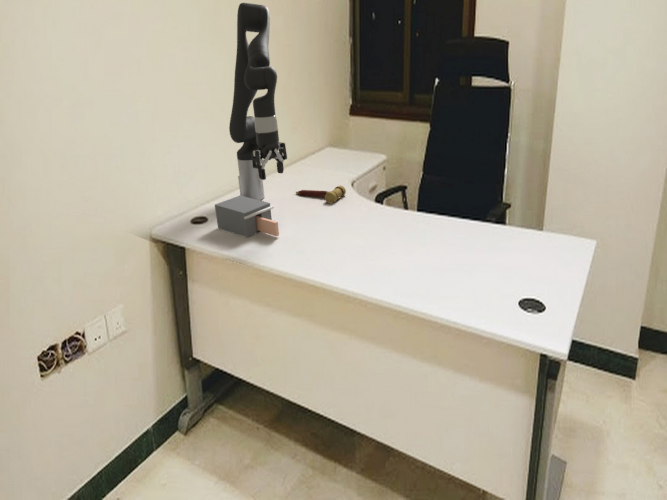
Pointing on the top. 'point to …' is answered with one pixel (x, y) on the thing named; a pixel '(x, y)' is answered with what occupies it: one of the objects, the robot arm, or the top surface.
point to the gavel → (325, 194)
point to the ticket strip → (267, 226)
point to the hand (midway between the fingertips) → (271, 176)
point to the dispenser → (241, 215)
